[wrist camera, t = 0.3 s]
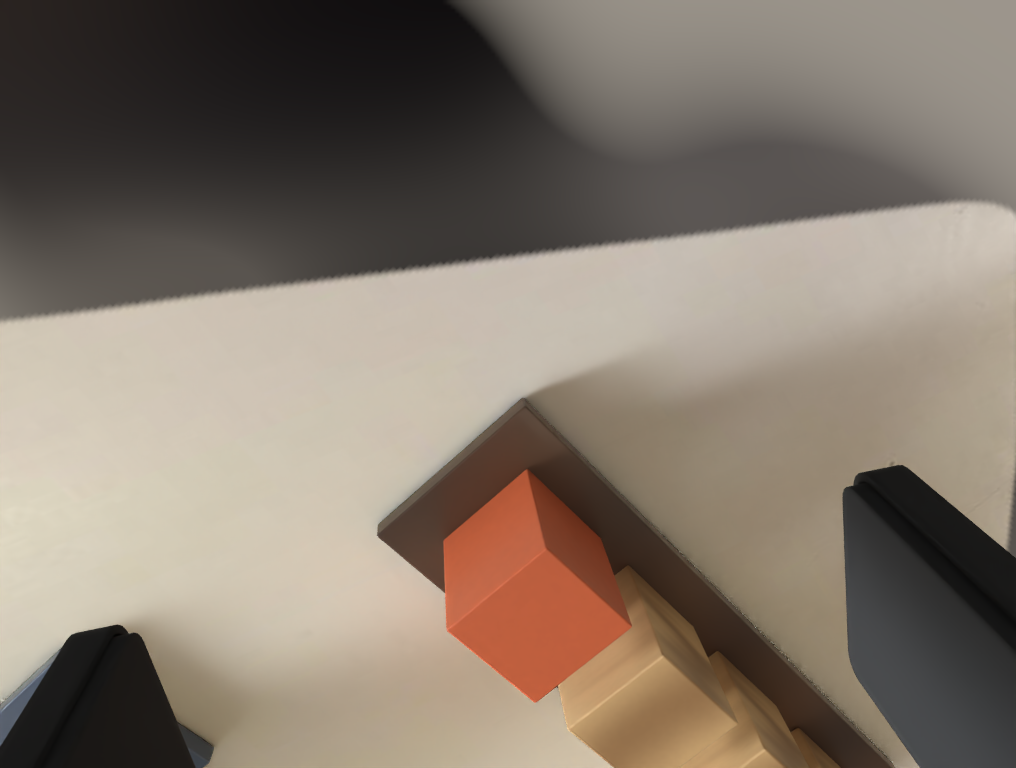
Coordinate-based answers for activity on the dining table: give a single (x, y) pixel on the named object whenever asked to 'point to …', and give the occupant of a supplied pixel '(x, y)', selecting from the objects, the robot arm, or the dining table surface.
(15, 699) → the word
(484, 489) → the wooden cubes on board
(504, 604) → the matte orange cube
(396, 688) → the dining table surface
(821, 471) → the dining table surface
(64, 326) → the dining table surface
